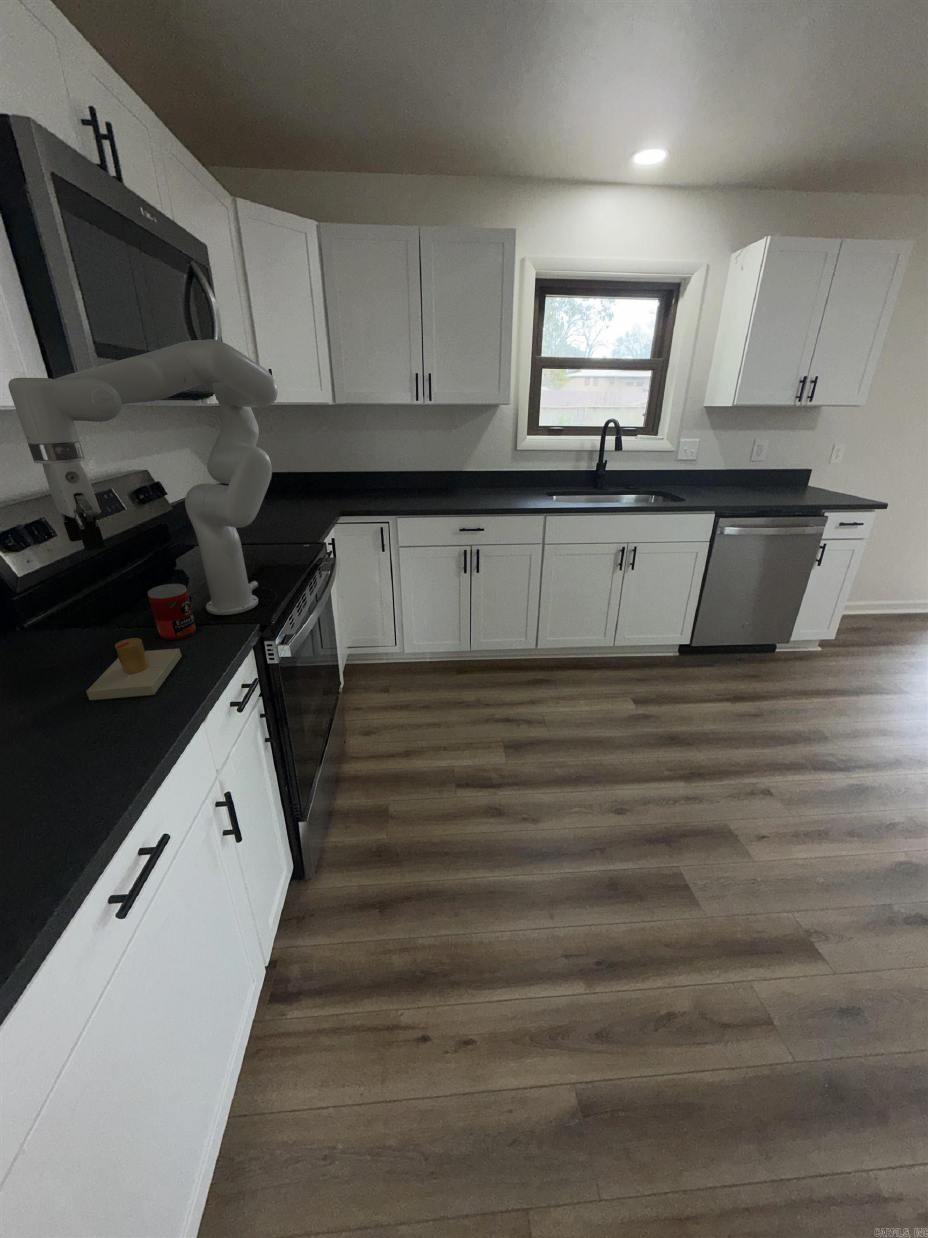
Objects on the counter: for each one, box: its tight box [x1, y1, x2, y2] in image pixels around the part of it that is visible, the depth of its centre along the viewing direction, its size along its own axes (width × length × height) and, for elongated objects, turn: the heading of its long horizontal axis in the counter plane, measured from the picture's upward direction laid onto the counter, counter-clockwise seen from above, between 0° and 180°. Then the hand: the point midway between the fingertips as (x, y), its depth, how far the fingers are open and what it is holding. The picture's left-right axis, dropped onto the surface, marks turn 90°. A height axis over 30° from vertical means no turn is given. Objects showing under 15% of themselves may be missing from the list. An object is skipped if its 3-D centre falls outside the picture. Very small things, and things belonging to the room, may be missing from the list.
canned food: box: [147, 583, 197, 641], centre depth 114 cm, size 8×8×11 cm
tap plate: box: [85, 648, 182, 701], centre depth 98 cm, size 15×11×2 cm
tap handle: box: [114, 637, 149, 674], centre depth 96 cm, size 4×4×6 cm
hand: (87, 544), depth 97 cm, fingers open, 9 cm apart
